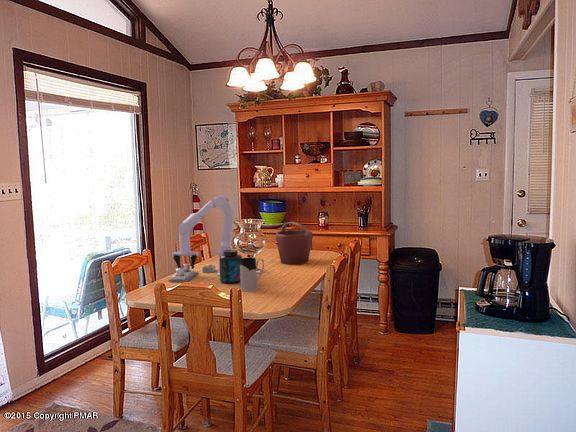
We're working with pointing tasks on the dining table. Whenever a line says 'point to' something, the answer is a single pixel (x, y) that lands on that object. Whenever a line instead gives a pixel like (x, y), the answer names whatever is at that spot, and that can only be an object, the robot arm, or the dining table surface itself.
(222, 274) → the container
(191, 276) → the pallet board
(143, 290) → the dining table surface
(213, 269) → the console
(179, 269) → the seated billet
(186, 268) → the billet
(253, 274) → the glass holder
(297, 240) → the bucket
